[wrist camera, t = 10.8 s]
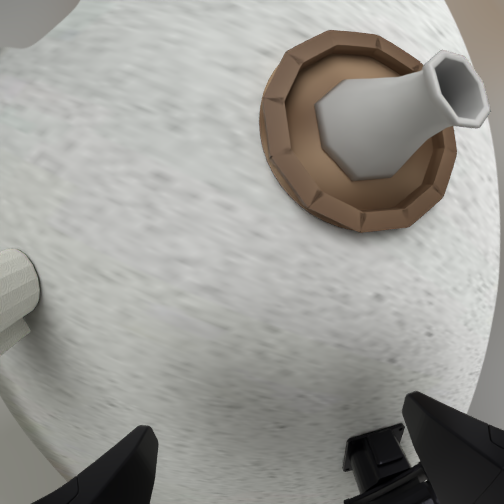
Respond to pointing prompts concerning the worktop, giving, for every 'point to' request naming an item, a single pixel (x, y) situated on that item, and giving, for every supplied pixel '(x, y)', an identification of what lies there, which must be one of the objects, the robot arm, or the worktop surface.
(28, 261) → the paper towel roll
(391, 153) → the flask
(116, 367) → the worktop surface
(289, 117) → the walnut collar
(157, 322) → the worktop surface
